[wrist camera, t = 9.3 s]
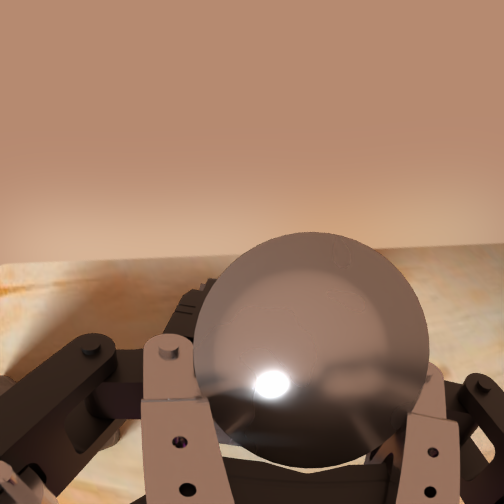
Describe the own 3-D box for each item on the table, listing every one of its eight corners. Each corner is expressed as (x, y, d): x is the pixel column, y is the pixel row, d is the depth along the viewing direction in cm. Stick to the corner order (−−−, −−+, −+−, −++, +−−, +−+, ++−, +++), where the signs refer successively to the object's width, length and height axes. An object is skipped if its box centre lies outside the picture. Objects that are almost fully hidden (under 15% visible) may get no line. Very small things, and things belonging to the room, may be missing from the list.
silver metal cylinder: (332, 323, 16) (430, 243, 7) (322, 425, 14) (423, 469, 5) (230, 311, 16) (210, 211, 7) (214, 414, 14) (166, 456, 5)
